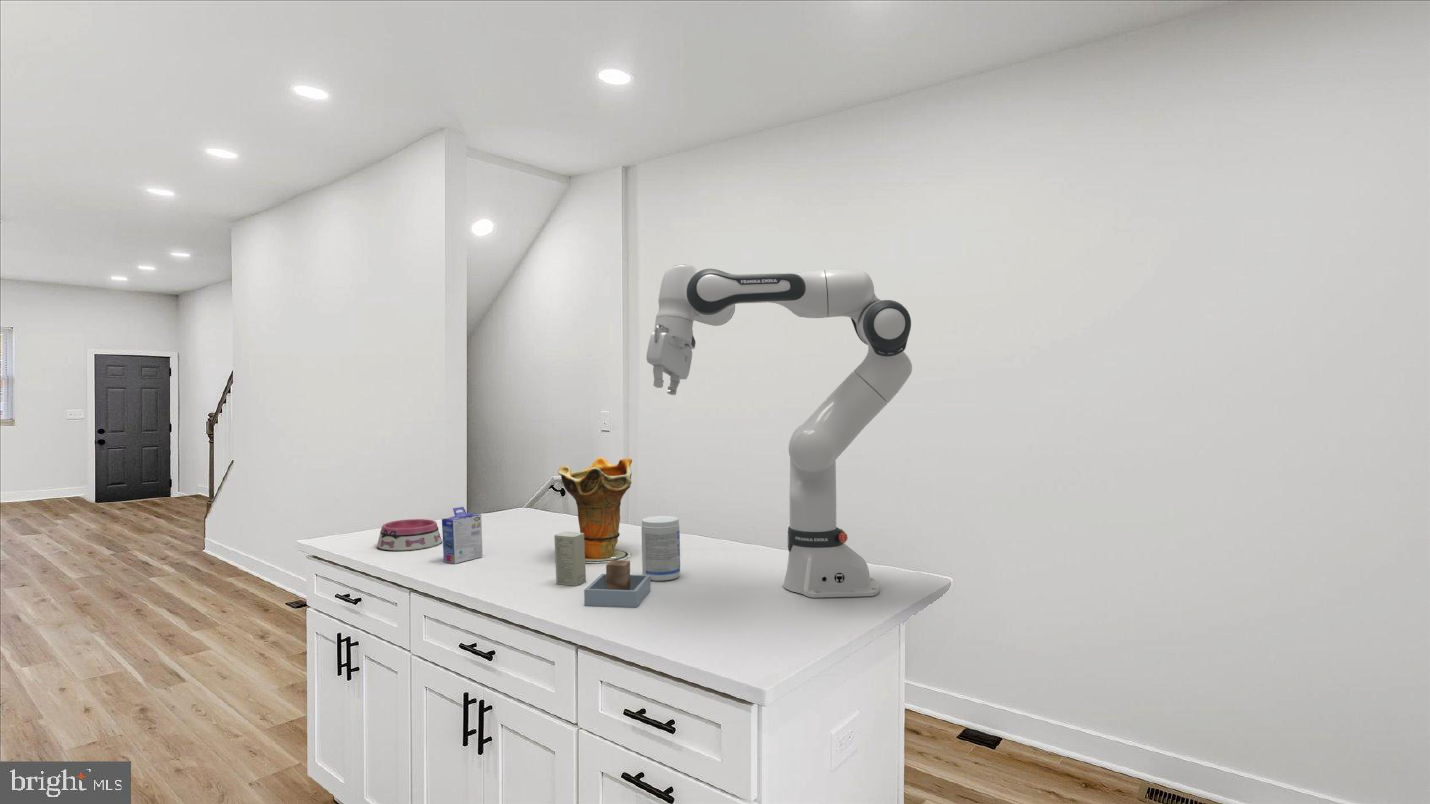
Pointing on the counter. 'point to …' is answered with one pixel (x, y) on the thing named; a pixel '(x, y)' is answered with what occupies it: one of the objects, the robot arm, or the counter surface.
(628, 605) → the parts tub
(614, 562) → the walnut block
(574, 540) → the skincare box
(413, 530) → the dog bowl
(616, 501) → the decorative vase
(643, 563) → the supplement tub
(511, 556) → the counter surface
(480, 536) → the ink cartridge box
